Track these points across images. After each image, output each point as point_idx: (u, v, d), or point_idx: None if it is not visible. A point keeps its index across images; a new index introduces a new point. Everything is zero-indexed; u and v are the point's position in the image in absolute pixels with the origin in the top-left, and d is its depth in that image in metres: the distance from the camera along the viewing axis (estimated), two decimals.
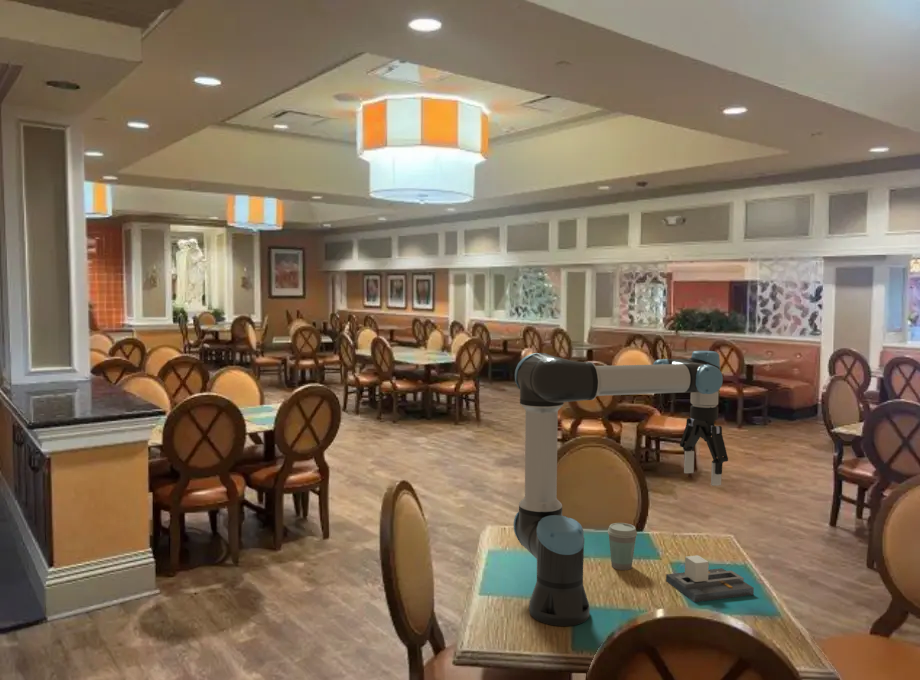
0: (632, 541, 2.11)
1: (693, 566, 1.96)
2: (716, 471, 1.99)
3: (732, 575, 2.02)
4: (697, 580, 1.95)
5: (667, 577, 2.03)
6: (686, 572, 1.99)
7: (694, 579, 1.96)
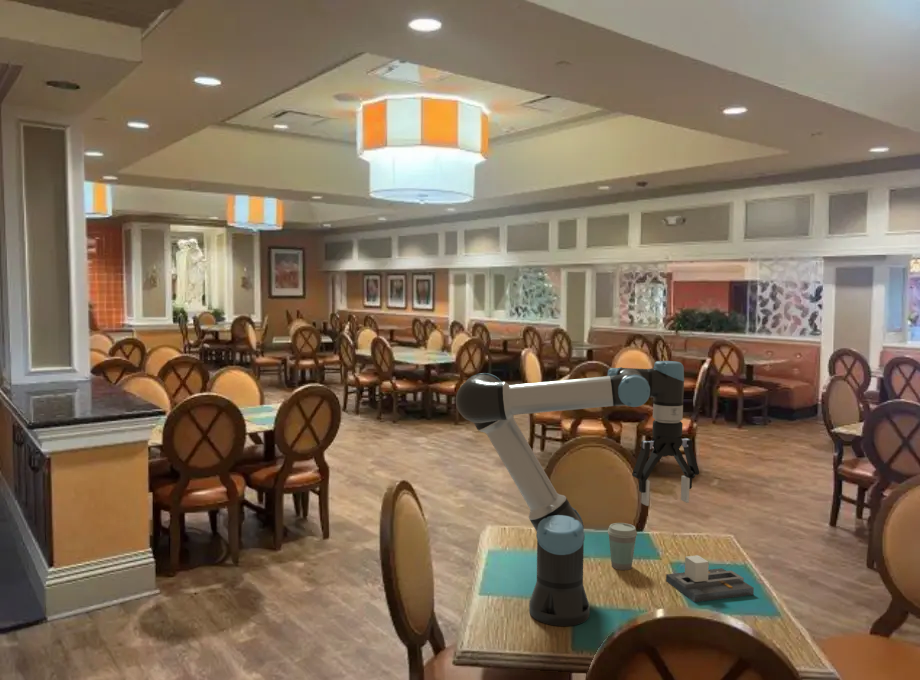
0: (632, 541, 2.11)
1: (693, 566, 1.96)
2: None
3: (732, 575, 2.02)
4: (697, 580, 1.95)
5: (667, 577, 2.03)
6: (686, 572, 1.99)
7: (694, 579, 1.96)
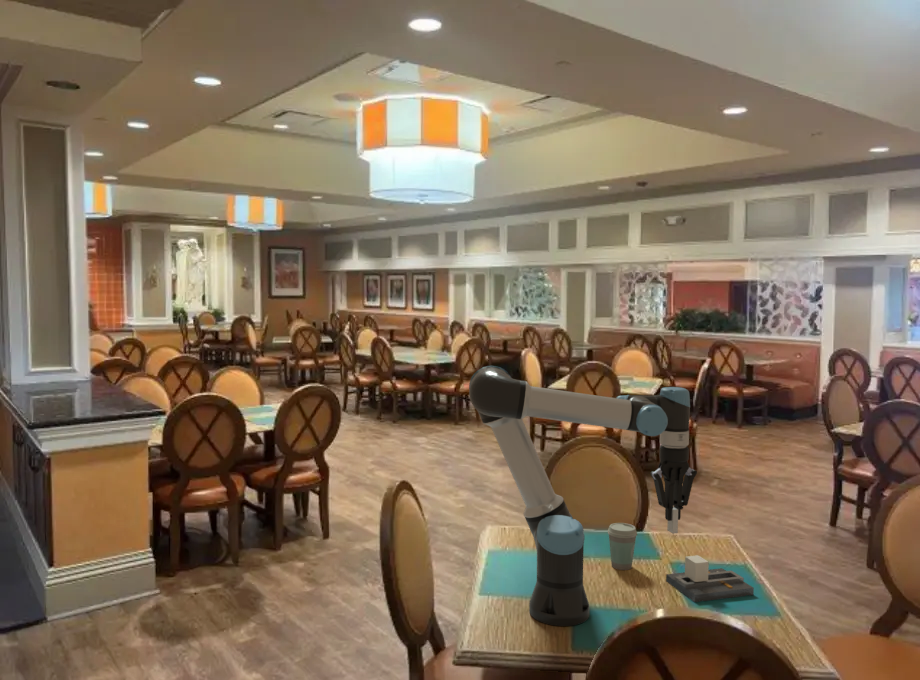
0: (632, 541, 2.11)
1: (693, 566, 1.96)
2: None
3: (732, 575, 2.02)
4: (697, 580, 1.95)
5: (667, 577, 2.03)
6: (686, 572, 1.99)
7: (694, 579, 1.96)
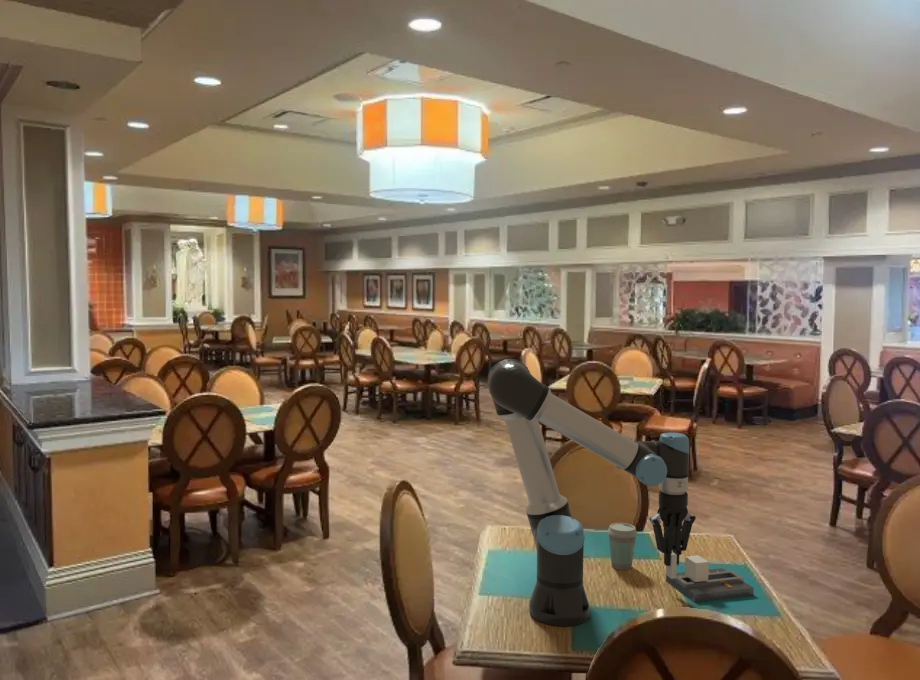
0: (632, 541, 2.11)
1: (693, 566, 1.96)
2: None
3: (732, 575, 2.02)
4: (697, 580, 1.95)
5: (667, 577, 2.03)
6: (686, 572, 1.99)
7: (694, 579, 1.96)
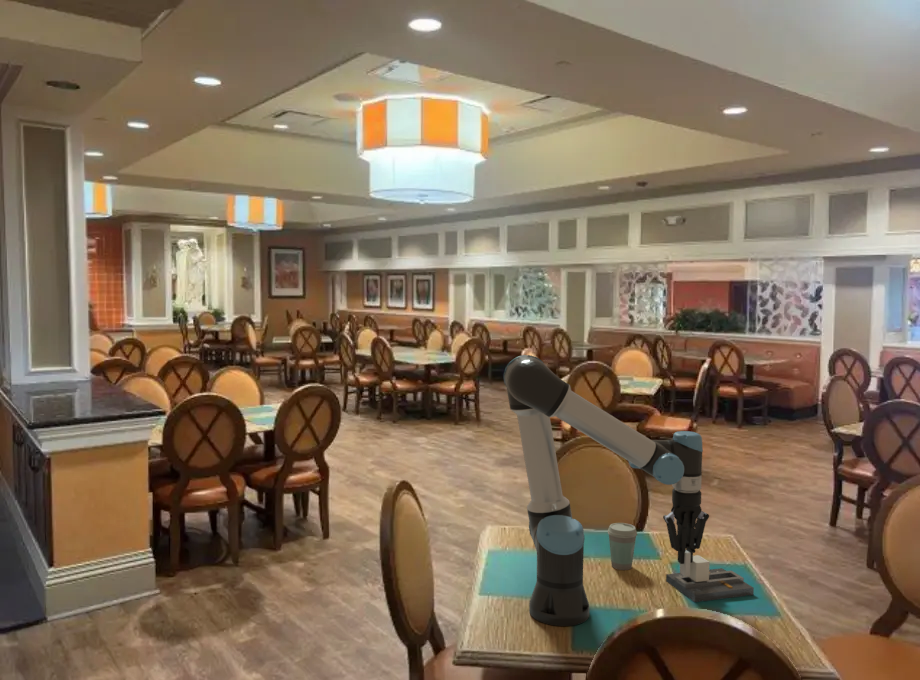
0: (632, 541, 2.11)
1: (694, 566, 1.96)
2: None
3: (732, 575, 2.02)
4: (698, 580, 1.95)
5: (667, 577, 2.03)
6: None
7: (695, 579, 1.96)
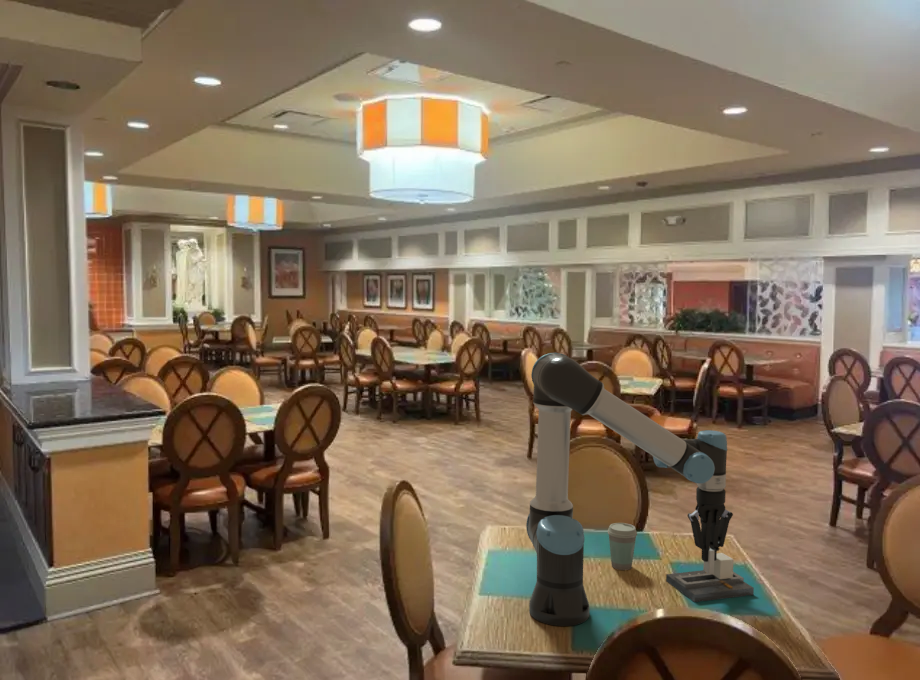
0: (632, 541, 2.11)
1: (718, 563, 1.98)
2: None
3: None
4: (722, 577, 1.97)
5: (667, 577, 2.03)
6: None
7: (719, 576, 1.98)
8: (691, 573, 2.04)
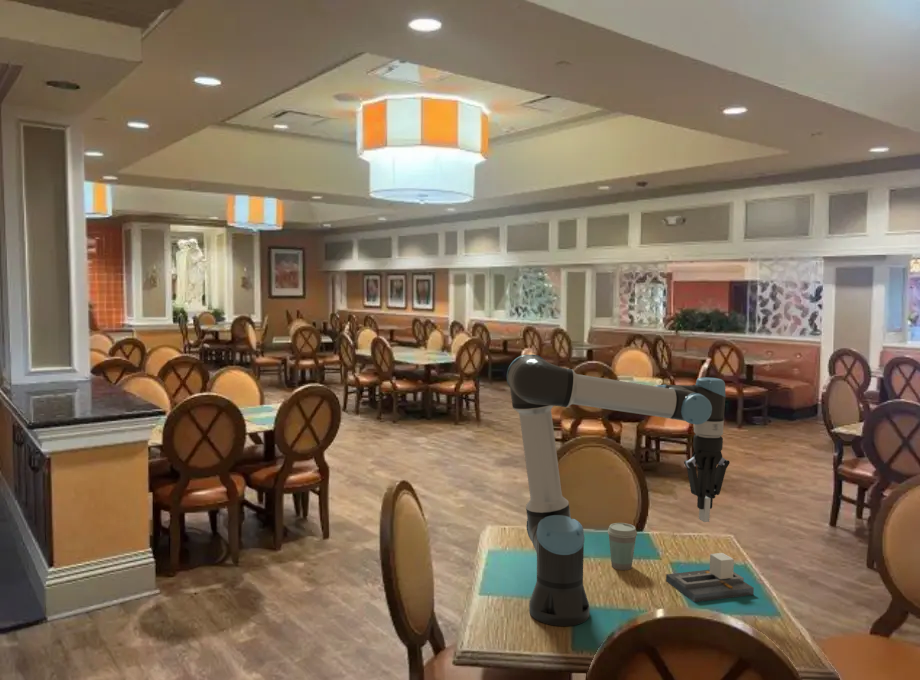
0: (632, 541, 2.11)
1: (718, 563, 1.98)
2: None
3: None
4: (722, 577, 1.97)
5: (667, 577, 2.03)
6: (711, 569, 2.01)
7: (719, 576, 1.98)
8: (691, 573, 2.04)
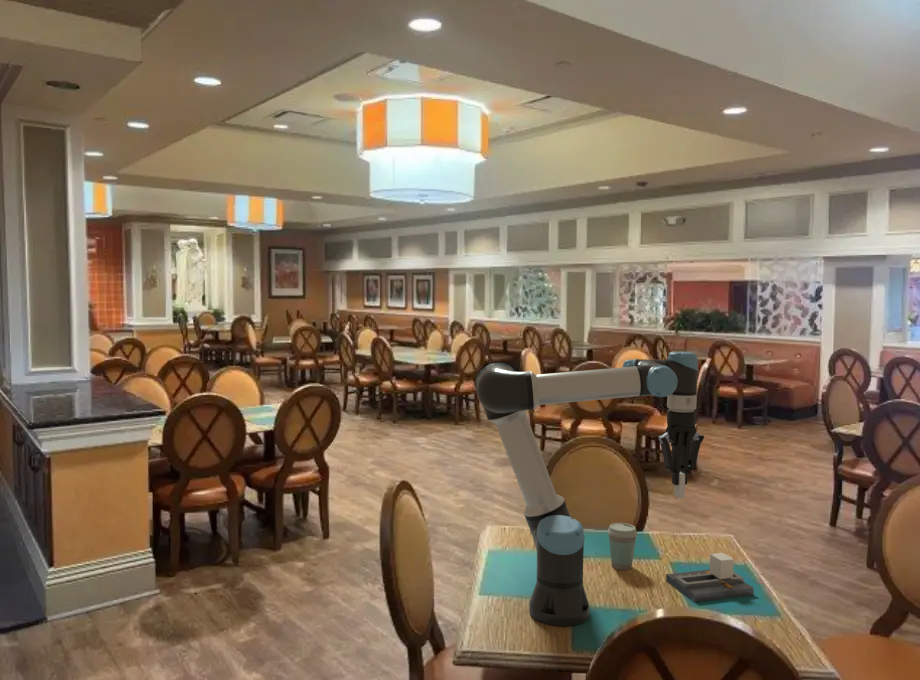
0: (632, 541, 2.11)
1: (718, 563, 1.98)
2: None
3: None
4: (722, 577, 1.97)
5: (667, 577, 2.03)
6: (711, 569, 2.01)
7: (719, 576, 1.98)
8: (691, 573, 2.04)
